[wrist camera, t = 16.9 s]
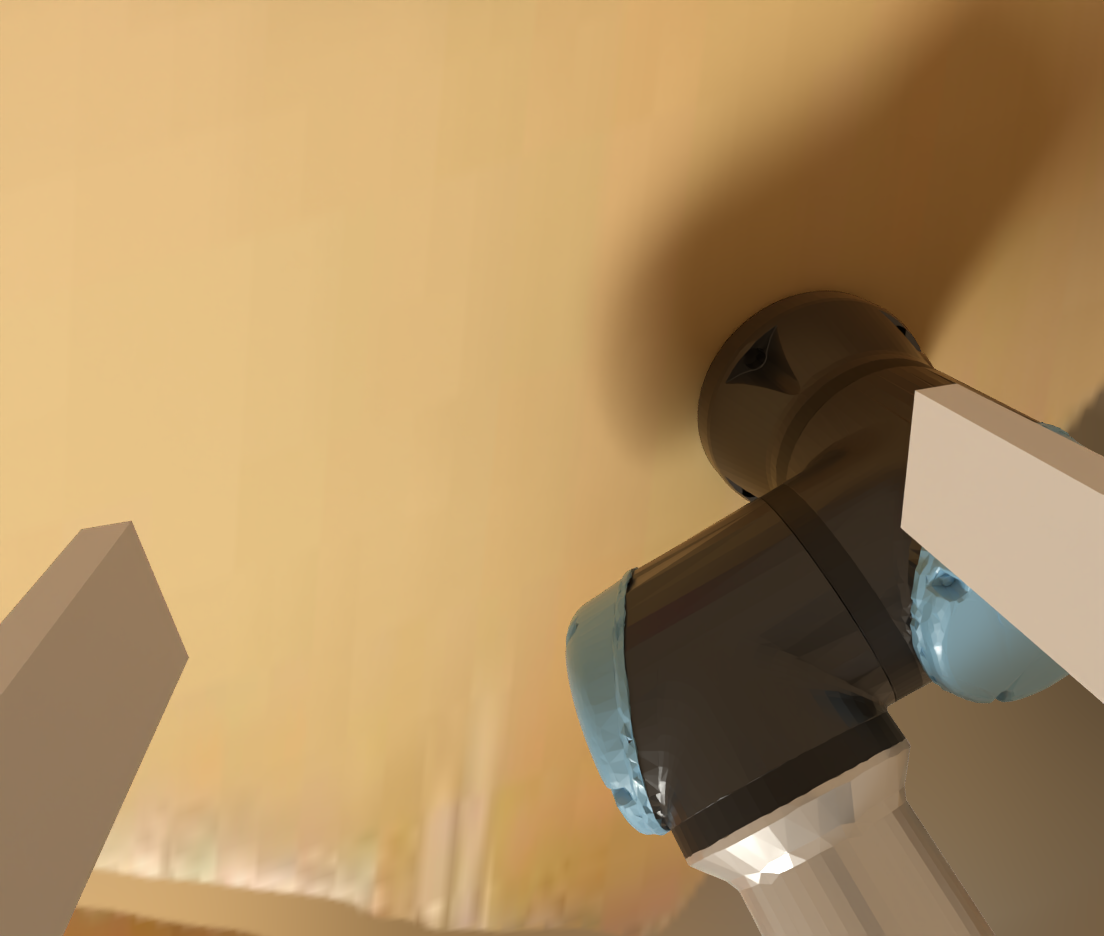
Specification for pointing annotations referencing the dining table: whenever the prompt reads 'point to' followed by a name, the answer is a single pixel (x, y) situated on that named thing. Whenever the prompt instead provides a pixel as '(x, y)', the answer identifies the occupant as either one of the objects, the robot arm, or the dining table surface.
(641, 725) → the robot arm
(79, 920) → the dining table surface
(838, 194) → the dining table surface
